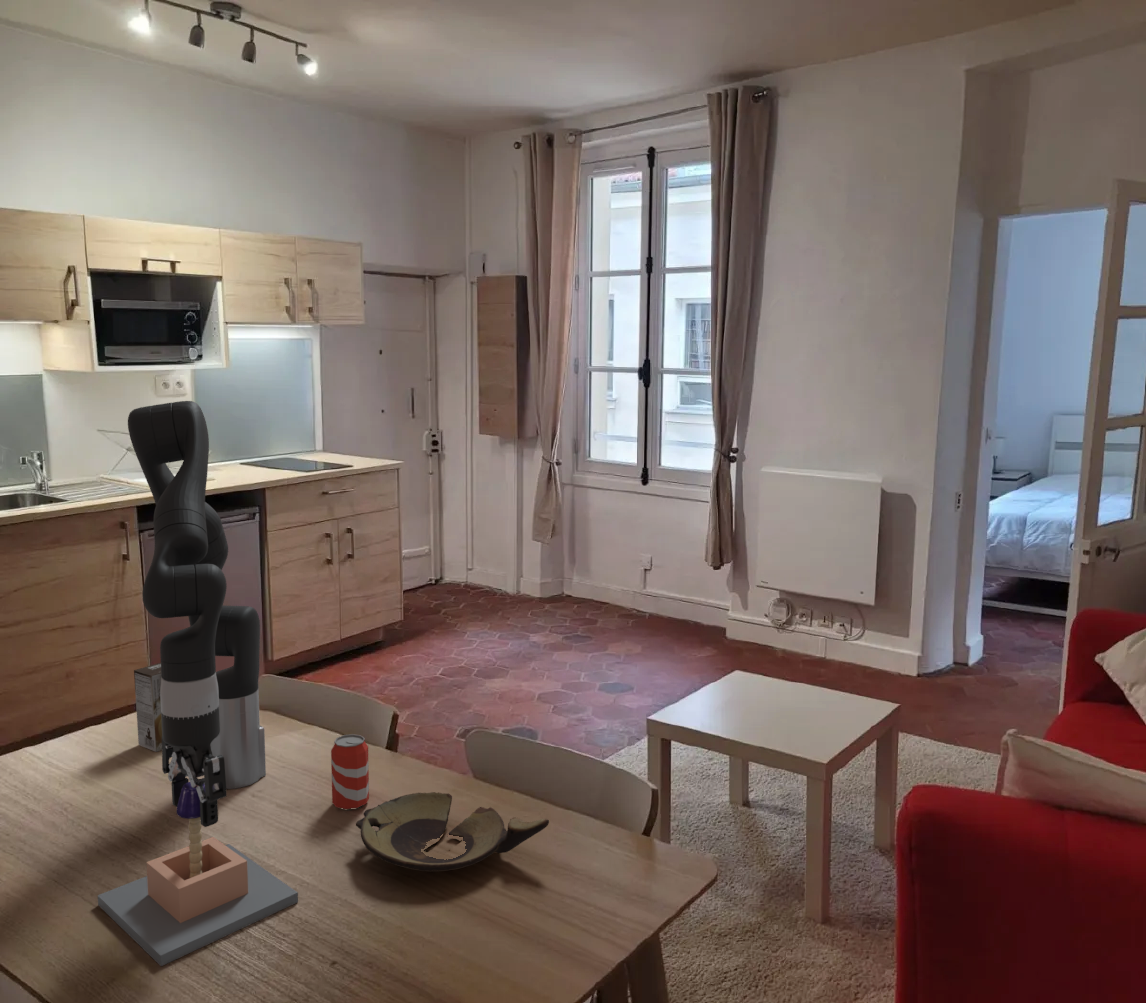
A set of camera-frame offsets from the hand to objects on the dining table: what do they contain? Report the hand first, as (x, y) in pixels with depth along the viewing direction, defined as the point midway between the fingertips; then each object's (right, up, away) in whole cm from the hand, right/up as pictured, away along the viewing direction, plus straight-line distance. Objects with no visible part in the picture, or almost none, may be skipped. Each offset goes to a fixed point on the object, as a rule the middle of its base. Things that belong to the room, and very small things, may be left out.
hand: (195, 814), depth 131 cm
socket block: (0, -14, +2) cm, 14 cm away
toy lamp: (0, -12, +2) cm, 12 cm away
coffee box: (-30, -5, +58) cm, 66 cm away
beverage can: (+14, -10, +33) cm, 37 cm away
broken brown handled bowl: (+34, -13, +16) cm, 39 cm away
